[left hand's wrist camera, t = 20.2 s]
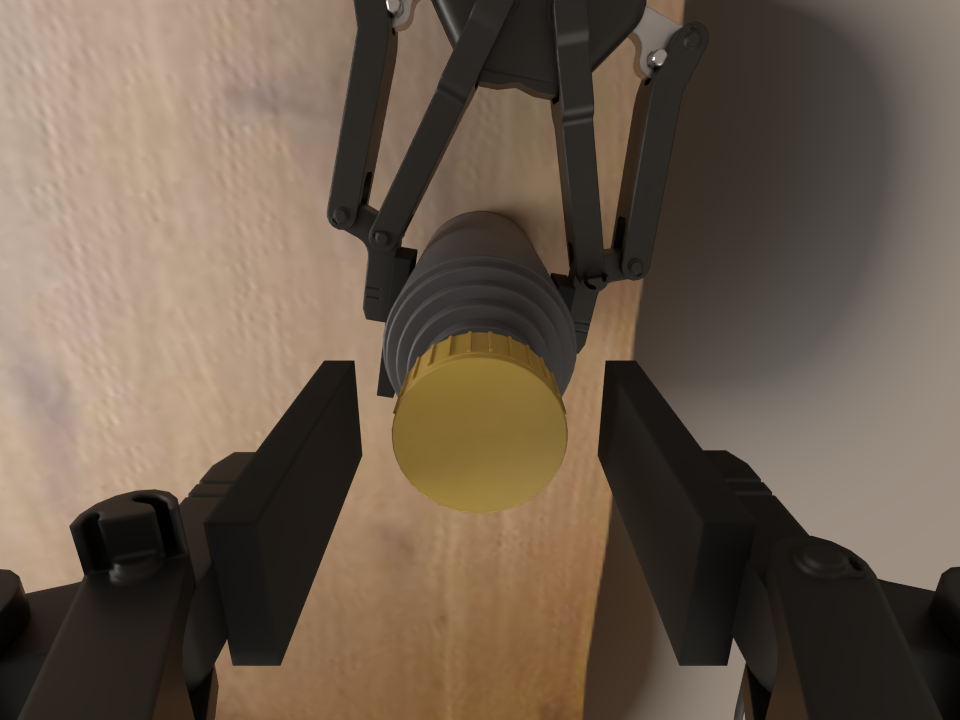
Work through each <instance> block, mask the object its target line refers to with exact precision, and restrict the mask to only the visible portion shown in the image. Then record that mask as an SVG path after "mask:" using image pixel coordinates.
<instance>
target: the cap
mask: <svg viewBox="0 0 960 720" xmlns="http://www.w3.org/2000/svg"><path fill="white" fill-rule="evenodd" d="M393 414H395V417H394V421H393V427H392V442H393V450H394V453H395V456H396V460H397V462H398V464H399V466H400V468H401V470H402V472H403V473H404V475H405V476H406V478H407V479H408V480H409V482H410V483H411V484H412V485H413V486H414V487H415V488H416V489H417V490H418V491H419V492H420V493H422V494H423V495H424V496H426V497H427V498H429V499H430V500H432V501H434V502H436V503H438V504H440V505H442V506H445V507H447V508H450V509H454V510H457V511H462V512H468V513H491V512H497V511H503V510H506V509H509V508H513V507H515V506H517V505H520V504H522V503H524V502H526V501H527V500H529V499H531V498H532V497H534V496H535V495H537V494H538V493H539V492H540V491H541V490H543V489H544V488H545V487H546V486H547V485H548V484H549V482H550V481H551V480H552V479H553V477H554V476H555V474H556V473H557V471H558V469H559V468H560V465H561V463H562V461H563V459H564V455H565V451H566V447H567V439H568V436H567V433H568V430H567V423H566V418H565V415H566V410H565V407H564V404H563V401H562V398H561V395H560V392H559V389H558V387H557V384H556V381H555V378H554V375H553V373H552V372H551V373H550V372H549V370H548V368H547V367H546V365H545V363H544V360H543V358H542V357H540V358H539V357H538V356H537V355H536V354H535V353H534V352H533V351H532V350H530V348H529V346H528V345H527V344H526V345H523V344H522V343H520V342H518V341H516V340H514V339H512V337H511V336H508V337H506V336H503V335H499V334H493V333H492V332H491V331H489V333H483V332H477V333H472V331H469V332H468V333H466V334H461V335H457V336H454V337H452V335H451V336H449V338H448V339H446V340H444V341H442V342H440V343H438V344H436V345H434V344H433V345H431V348H430V349H429V350H428V351H427V352H426V353H424V354H423V355H422V356H421V357H420V356H419V357H418V358H417V360H416V363H415V365H414V366H413V368H412V369H411V371H410V372H409V371H408V372H407V374H406V377H405V380H404V383H403V386H402V388H401V390H400V393H399V396H398V399H397V402H396V405H395V408H394V412H393Z"/></svg>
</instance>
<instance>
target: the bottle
mask: <svg viewBox="0 0 960 720" xmlns="http://www.w3.org/2000/svg"><path fill="white" fill-rule="evenodd" d="M469 331H472V333H477V332H483V333H489V331H491V332H492V333H493V334H499V335H503V336H506V337H508V336H511V337H512V339H514V340H516V341H518V342H520V343H522V344H523V345H526V344H527V345H528V346H529V348H530V350H532V351H533V352H534V353H535V354H536V355H537V356H538V357H539V358H540V357H542V358H543V360H544V363H545V365H546V367H547V368H548V370H549V372H550V373H551V372H552V373H553V375H554V378H555V381H556V384H557V387H558V389H559V392H560V395H561V398H562V396H563V394H564V392H565V390H566V388H567V386H568V384H569V382H570V379H571V376H572V373H573V371H574V366H575V362H576V353H577V340H576V332H575V327H574V322H573V320H572V317H571V314H570V311H569V309H568V308H567V306H566V304H565V302H564V300H563V298H562V296H561V295H560V293H559V291H558V289H557V288H556V286H555V284H554V282H553V281H552V279H551V277H550V275H549V274H548V272H547V270H546V268H545V267H544V265H543V263H542V261H541V259H540V258H539V256H538V254H537V252H536V251H535V249H534V247H533V245H532V244H531V242H530V240H529V238H528V237H527V235H526V234H525V233H524V231H523V230H522V229H521V228H520V227H519V226H518V225H516V224H515V223H514V222H513V221H511V220H509V219H508V218H506V217H504V216H501V215H499V214H495V213H492V212H485V211H475V212H468V213H464V214H461V215H459V216H456V217H454V218H452V219H451V220H449V221H447V222H446V223H445V224H443V225H442V226H441V227H440V228H439V229H438V230H437V231H436V233H435V234H434V235H433V237H432V238H431V240H430V242H429V243H428V245H427V247H426V249H425V250H424V252H423V254H422V256H421V257H420V259H419V261H418V263H417V264H416V266H415V268H414V270H413V272H412V273H411V275H410V277H409V279H408V280H407V282H406V284H405V286H404V287H403V289H402V291H401V293H400V294H399V296H398V298H397V300H396V301H395V303H394V305H393V307H392V309H391V311H390V314H389V316H388V319H387V321H386V326H385V330H384V337H383V358H384V363H385V368H386V371H387V374H388V377H389V380H390V382H391V384H392V387H393V389H394V391H395V393H396V395H397V397H398V396H399V393H400V390H401V388H402V386H403V383H404V380H405V377H406V374H407V372H408V371H409V372H410V371H411V369H412V368H413V366H414V365H415V363H416V360H417V358H418V357H419V356H420V357H421V356H422V355H423V354H424V353H426V352H427V351H428V350H429V349H430V348H431V345H433V344H434V345H436V344H438V343H440V342H442V341H444V340H446V339H448V338H449V336H451V335H452V337H454V336H457V335H461V334H466V333H468V332H469Z"/></svg>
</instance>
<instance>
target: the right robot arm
mask: <svg viewBox="0 0 960 720" xmlns="http://www.w3.org/2000/svg"><path fill="white" fill-rule="evenodd" d="M419 1H420V0H354V6H355V13H356V20H357V27H358V29H357V35H356V41H355V47H354V53H353V59H352V65H351V71H350V77H349V83H348V89H347V95H346V101H345V107H344V113H343V119H342V125H341V131H340V137H339V143H338V149H337V155H336V161H335V167H334V173H333V179H332V185H331V190H330V196H329V202H328V208H327V218H328V220H329V223H330V224H331V225H332V226H333V227H335V228H337V229H339V230H345V231H347V232H349V233H351V234H352V235H354V236H356V237H358V238H359V239H361V240H362V241H363V242H364V244H365V245H366V247H367V250H368V264H367V273H366V283H365V293H364V302H363V310H364V313H365V317H366V319H368V320H374V321H380V322H386V321H387V319H388V316H389V314H390V311H391V309H392V307H393V305H394V303H395V301H396V300H397V298H398V296H399V294H400V293H401V291H402V289H403V287H404V286H405V284H406V282H407V280H408V279H409V277H410V275H411V273H412V272H413V270H414V268H415V266H416V258H417V251H418V250H417V249H411V248H405V247H401V244H402V238H403V237H404V236H405V235H404V234H405V232H406V230H407V228H408V226H409V224H410V222H411V220H412V218H413V216H414V214H415V212H416V210H417V208H418V206H419V204H420V202H421V200H422V198H423V196H424V194H425V192H426V190H427V188H428V186H429V184H430V181H431V179H432V177H433V175H434V173H435V171H436V169H437V167H438V165H439V163H440V161H441V159H442V157H443V155H444V153H445V151H446V149H447V147H448V145H449V143H450V141H451V139H452V137H453V135H454V133H455V131H456V129H457V127H458V125H459V123H460V121H461V119H462V117H463V115H464V113H465V111H466V109H467V107H468V105H469V104H470V102H471V100H472V98H473V96H474V94H475V92H476V90H477V88H478V86H480V87H485V88H490V89H496V90H499V89H509V88H517V89H519V90H521V91H523V92H525V93H527V94H529V95H531V96H533V97H537V98H542V99H548V100H550V101H551V111H552V119H553V123H554V127H555V135H556V144H557V154H558V163H559V173H560V183H561V192H562V202H563V211H564V221H565V230H566V240H567V249H568V259H569V267H570V271H569V275H568V277H567V275H561V274H555V273H551V279H552V281H553V282H554V284H555V286H556V288H557V289H558V291H559V293H560V295H561V296H562V298H563V300H564V302H565V304H566V306H567V308H568V309H569V311H570V314H571V317H572V320H573V322H574V327H575V332H576V340H577V353H576V354H578V353H579V352H580V351H581V349H582V348H583V346H584V345H585V342H586V338H587V334H588V330H589V326H590V322H591V318H592V315H593V311H594V307H595V303H596V299H597V295H598V293H599V291H601V290H602V289H604V288H605V287H606V285H607V284H608V283H610V282H613V281H619V280H625V279H630V280H633V281H634V280H639V279H641V278H643V277H644V276H645V275H646V274H647V273H648V270H649V268H650V263H651V257H652V252H653V247H654V242H655V236H656V231H657V226H658V220H659V215H660V210H661V204H662V199H663V194H664V189H665V183H666V178H667V173H668V167H669V162H670V157H671V151H672V146H673V141H674V135H675V130H676V125H677V120H678V114H679V109H680V104H681V98H682V93H683V90H684V89H685V87H686V85H687V83H688V81H689V79H690V77H691V75H692V73H693V71H694V70H695V68H696V66H697V64H698V62H699V60H700V58H701V56H702V55H703V53H704V51H705V49H706V47H707V44H708V41H709V34H708V31H707V29H706V27H705V26H704V25H703V24H702V23H699V22H690V23H688V24H686V25H685V26H681V25H679V24H678V23H676V22H674V21H672V20H670V19H669V18H667V17H665V16H663V15H662V14H660V13H658V12H656V11H654V10H653V9H651V8H649V7H647V6H646V0H431V1H432V3H433V5H434V8H435V10H436V12H437V14H438V17H439V19H440V21H441V23H442V26H443V28H444V30H445V32H446V35H447V37H448V39H449V41H450V43H451V46H452V48H453V52H452V54H451V57H450V59H449V61H448V63H447V65H446V67H445V69H444V71H443V74H442V76H441V78H440V81H439V84H438V87H437V90H436V92H435V94H434V96H433V98H432V100H431V103H430V105H429V107H428V109H427V111H426V113H425V115H424V117H423V120H422V122H421V124H420V126H419V128H418V130H417V132H416V134H415V137H414V139H413V141H412V143H411V145H410V147H409V149H408V151H407V153H406V156H405V158H404V160H403V162H402V164H401V166H400V168H399V170H398V173H397V175H396V177H395V179H394V181H393V183H392V185H391V187H390V190H389V192H388V194H387V196H386V198H385V200H384V202H383V204H382V207H381V209H380V211H378V210H376V209H374V208H372V207H371V206H369V205H368V204H369V198H370V193H371V188H372V183H373V177H374V172H375V167H376V162H377V157H378V151H379V146H380V141H381V136H382V131H383V125H384V120H385V115H386V110H387V104H388V99H389V94H390V89H391V84H392V78H393V73H394V68H395V63H396V56H397V45H398V33H397V32H400V31H404V30H406V29H407V28H409V27H410V25H411V24H412V21H413V17H414V10H415V7H416V5H417V3H418V2H419ZM627 37H628V38H629V39H631V40H632V42H633V43H634V46H635V51H636V54H635V59H634V63H633V67H634V71H635V73H636V75H637V76H638V77H639V78H640V79H642V81H641V83H640V86H639V89H638V92H637V95H636V99H635V104H634V109H633V115H632V121H631V127H630V133H629V140H628V146H627V152H626V158H625V164H624V170H623V177H622V183H621V189H620V195H619V201H618V207H617V214H616V220H615V226H614V232H613V238H612V244H611V248H609V249H603V237H602V224H601V212H600V200H599V188H598V176H597V164H596V152H595V139H594V127H593V115H594V96H593V84H592V72H593V71H594V70H595V69H596V68H597V67H598V66H599V65H600V64H601V63H602V62H603V61H604V60H605V59H606V58H607V57H608V56H609V55H610V54H611V53H612V52H613V51H614V50H615V49H616V48H617V47H618V46H619V45H620V44H621V43H622V42H623V41H624V40H625V39H626V38H627ZM385 326H386V323H385ZM394 394H395V391H394V389H393V387H392V384H391V382H390V380H389V377H388V374H387V371H386V368H385V363H384V358H383V349H382V357H381V365H380V374H379V382H378V390H377V396H384V397H390V398H393V397H394Z"/></svg>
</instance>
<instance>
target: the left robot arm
mask: <svg viewBox="0 0 960 720" xmlns="http://www.w3.org/2000/svg"><path fill="white" fill-rule="evenodd" d="M361 457H362V445H361V434H360V422H359V410H358V398H357V386H356V374H355V363H354V361H324V362H323V363H322V364H321V366H320V367H319V368H318V370H317V371H316V372H315V374H314V375H313V376H312V378H311V379H310V380H309V382H308V383H307V384H306V386H305V387H304V388H303V390H302V391H301V392H300V394H299V395H298V396H297V398H296V399H295V400H294V402H293V403H292V404H291V406H290V407H289V408H288V410H287V411H286V412H285V414H284V415H283V416H282V418H281V419H280V420H279V422H278V423H277V424H276V426H275V427H274V428H273V430H272V431H271V432H270V434H269V435H268V436H267V438H266V439H265V441H264V442H263V443H262V445H261V446H260V447H259V449H258V450H257V451H256V452H234V453H232V454H231V455H229V456H228V457H226V458H224V459H223V460H221V461H219V462H218V463H216V464H215V465H213V466H212V467H211V468H210V470H209V471H208V472H207V473H206V474H205V475H204V477H203V478H202V479H201V480H200V483H199V484H197V485H196V486H195V487H194V488H193V489H192V491H191V492H190V493H189V494H188V495H189V496H188V497H186V498H185V499H184V500H183V501H182V502H181V503H180V505H179V504H178V499H177V498H176V497H175V496H174V495H172V494H171V493H170V492H166V491H160V490H155V489H154V490H139V491H133V492H129V493H125V494H121V495H117V496H114V497H112V498H109V499H107V500H104V501H102V502H100V503H97V504H95V505H94V506H92V507H91V508H89V509H88V510H86V511H84V512H83V513H81V514H80V515H79V516H78V517H77V518H76V519H75V520H74V521H73V523H72V524H71V525H70V526H69V527H70V530H71V533H72V536H73V540H74V543H75V546H76V549H77V552H78V556H79V559H80V562H81V565H82V569H83V572H84V578H83V580H82V581H81V582H78V583H74V584H69V585H65V586H60V587H55V588H50V589H46V590H41V591H36V592H32V593H27V594H25V591H24V588H23V586H22V583H21V580H20V577H19V576H18V575H16V574H15V573H14V572H12V571H11V570H3V569H0V720H215V713H216V704H217V695H218V687H219V686H218V679H217V673H216V669H215V664H214V663H215V662H216V660H217V658H218V656H219V654H220V652H221V650H222V648H223V646H224V644H225V642H226V640H228V645H229V650H230V654H231V659H232V664H233V666H280V665H281V663H282V660H283V658H284V655H285V653H286V650H287V647H288V645H289V642H290V640H291V637H292V635H293V632H294V629H295V627H296V624H297V622H298V619H299V617H300V614H301V611H302V609H303V606H304V604H305V601H306V599H307V596H308V594H309V591H310V588H311V586H312V583H313V581H314V578H315V576H316V573H317V570H318V568H319V565H320V563H321V560H322V558H323V555H324V552H325V550H326V547H327V545H328V542H329V540H330V537H331V534H332V532H333V529H334V527H335V524H336V522H337V519H338V516H339V514H340V511H341V509H342V506H343V504H344V501H345V498H346V496H347V493H348V491H349V488H350V486H351V483H352V480H353V478H354V475H355V473H356V470H357V468H358V465H359V462H360V460H361ZM598 457H599V460H600V462H601V465H602V468H603V470H604V473H605V475H606V478H607V480H608V483H609V486H610V488H611V491H612V493H613V496H614V498H615V501H616V503H617V506H618V509H619V511H620V514H621V516H622V519H623V521H624V524H625V527H626V529H627V532H628V534H629V537H630V539H631V542H632V545H633V547H634V550H635V552H636V555H637V558H638V560H639V563H640V565H641V568H642V570H643V573H644V575H645V578H646V581H647V583H648V586H649V588H650V591H651V593H652V596H653V599H654V601H655V604H656V606H657V609H658V611H659V614H660V617H661V619H662V622H663V624H664V627H665V629H666V632H667V635H668V637H669V640H670V642H671V645H672V647H673V650H674V653H675V655H676V658H677V660H678V663H679V665H680V666H727V664H728V659H729V654H730V650H731V645H732V640H733V638H734V639H735V641H736V643H737V645H738V647H739V649H740V651H741V653H742V655H743V657H744V659H745V660H746V664H745V669H744V673H743V678H742V682H741V687H740V691H739V696H738V700H737V704H736V709H735V715H734V720H742V719H743V714H744V711H745V719H746V720H960V567H952V568H950V569H948V570H947V571H945V572H944V573H942V575H941V578H940V580H939V583H938V586H937V588H936V591H931V590H926V589H921V588H917V587H912V586H907V585H902V584H898V583H893V582H888V581H884V580H881V579H877V577H876V575H875V573H874V572H873V571H872V569H871V568H870V567H869V565H868V564H867V563H866V562H865V561H864V560H863V559H861V558H860V557H859V556H857V555H856V554H855V553H853V552H852V551H851V550H849V549H846V548H844V547H842V546H840V545H838V544H836V543H834V542H832V541H828V540H825V539H821V538H818V537H814V536H809V535H808V533H807V532H806V531H805V530H804V529H803V528H802V526H801V525H800V524H799V523H798V522H797V521H796V520H795V518H794V517H793V516H792V515H791V514H790V513H789V511H788V510H787V509H786V508H785V507H784V506H783V504H782V503H781V502H780V501H779V500H778V499H777V497H776V496H772V492H771V490H770V489H769V488H768V487H767V486H766V485H765V484H764V482H761V479H760V478H759V477H758V475H757V474H756V473H755V472H754V471H753V470H752V468H751V467H750V466H749V465H748V464H747V463H745V462H744V461H742V460H741V459H739V458H737V457H736V456H734V455H732V454H731V453H729V452H728V451H726V450H702V449H701V447H700V446H699V445H698V443H697V442H696V441H695V439H694V438H693V437H692V435H691V434H690V433H689V431H688V430H687V428H686V427H685V426H684V424H683V423H682V422H681V421H680V419H679V418H678V417H677V415H676V414H675V412H674V411H673V410H672V408H671V407H670V406H669V405H668V403H667V402H666V400H665V399H664V398H663V397H662V395H661V394H660V392H659V391H658V390H657V388H656V387H655V386H654V384H653V383H652V382H651V380H650V379H649V378H648V376H647V375H646V374H645V372H644V371H643V370H642V368H641V367H640V366H639V364H638V363H637V362H636V361H606V363H605V374H604V386H603V398H602V410H601V422H600V434H599V445H598Z"/></svg>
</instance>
